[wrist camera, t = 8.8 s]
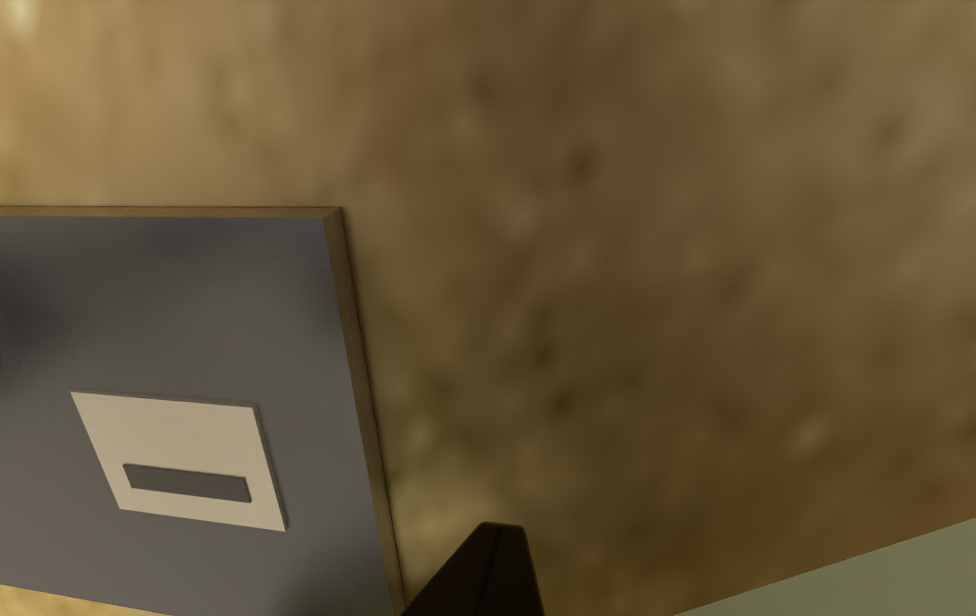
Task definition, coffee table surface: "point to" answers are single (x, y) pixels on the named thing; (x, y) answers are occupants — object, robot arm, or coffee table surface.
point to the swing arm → (874, 583)
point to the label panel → (189, 414)
